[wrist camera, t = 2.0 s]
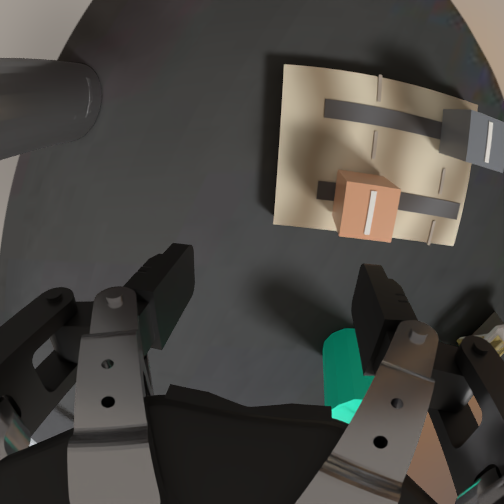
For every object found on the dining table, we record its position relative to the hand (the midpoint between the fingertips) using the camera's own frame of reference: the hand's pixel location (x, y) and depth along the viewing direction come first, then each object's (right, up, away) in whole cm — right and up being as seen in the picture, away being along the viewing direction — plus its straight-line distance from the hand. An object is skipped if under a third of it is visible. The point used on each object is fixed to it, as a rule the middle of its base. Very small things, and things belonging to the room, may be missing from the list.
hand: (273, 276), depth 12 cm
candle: (+10, -10, +23) cm, 27 cm away
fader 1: (+8, +6, +13) cm, 16 cm away
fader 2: (+17, +11, +9) cm, 23 cm away
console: (+11, +10, +14) cm, 20 cm away
